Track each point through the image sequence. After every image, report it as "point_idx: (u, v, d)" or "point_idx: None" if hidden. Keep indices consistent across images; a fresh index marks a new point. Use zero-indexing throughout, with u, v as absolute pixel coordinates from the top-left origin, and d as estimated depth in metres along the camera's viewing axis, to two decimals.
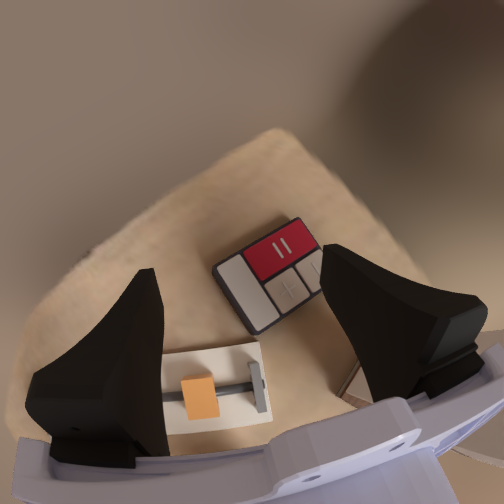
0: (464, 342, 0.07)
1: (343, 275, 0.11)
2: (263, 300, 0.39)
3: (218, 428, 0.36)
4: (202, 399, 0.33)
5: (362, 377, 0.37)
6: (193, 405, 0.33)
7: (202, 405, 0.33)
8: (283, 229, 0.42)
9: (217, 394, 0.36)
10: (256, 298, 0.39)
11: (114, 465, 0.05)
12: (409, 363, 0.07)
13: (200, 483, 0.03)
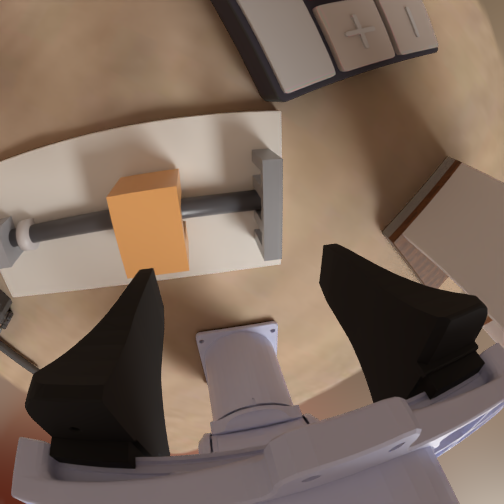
0: (464, 342, 0.07)
1: (343, 275, 0.11)
2: (307, 35, 0.14)
3: (185, 274, 0.23)
4: (153, 236, 0.16)
5: (437, 222, 0.21)
6: (135, 249, 0.17)
7: (153, 248, 0.17)
8: None
9: (185, 215, 0.19)
10: (294, 27, 0.13)
11: (114, 465, 0.05)
12: (409, 363, 0.07)
13: (200, 483, 0.03)
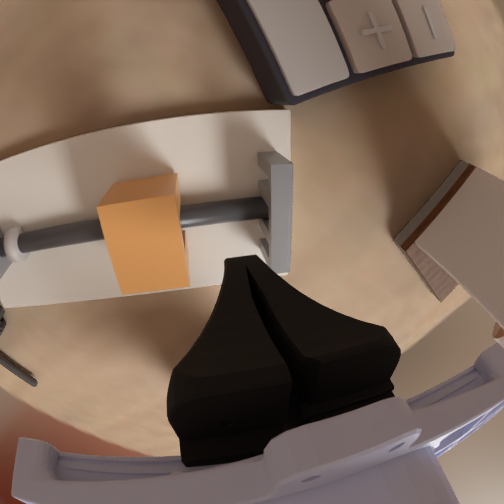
0: (369, 382, 0.06)
1: (252, 290, 0.10)
2: (319, 31, 0.12)
3: None
4: (149, 249, 0.15)
5: (452, 230, 0.20)
6: (130, 263, 0.15)
7: (150, 263, 0.15)
8: None
9: (185, 224, 0.18)
10: (305, 22, 0.12)
11: None
12: (294, 399, 0.07)
13: (200, 483, 0.03)
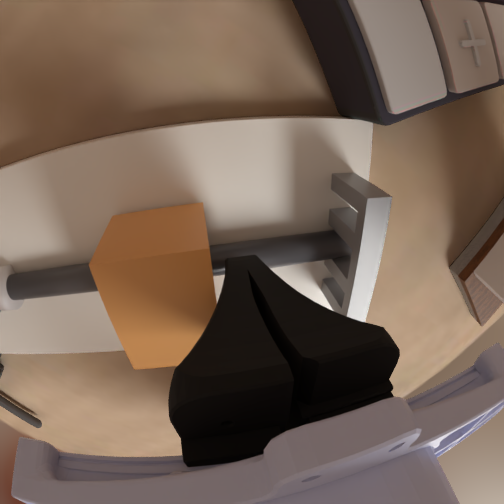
0: (368, 382, 0.06)
1: (252, 290, 0.10)
2: (419, 34, 0.08)
3: None
4: (171, 320, 0.10)
5: None
6: (143, 336, 0.10)
7: (172, 336, 0.11)
8: None
9: None
10: (406, 19, 0.08)
11: (264, 454, 0.06)
12: (293, 399, 0.07)
13: (200, 483, 0.03)
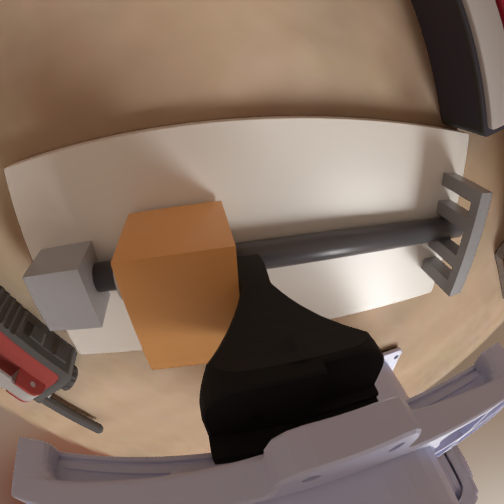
0: (351, 388, 0.06)
1: (239, 292, 0.10)
2: None
3: (346, 312, 0.18)
4: (193, 319, 0.10)
5: None
6: (163, 336, 0.11)
7: (193, 334, 0.11)
8: None
9: (386, 247, 0.14)
10: (502, 61, 0.09)
11: None
12: None
13: (200, 483, 0.03)
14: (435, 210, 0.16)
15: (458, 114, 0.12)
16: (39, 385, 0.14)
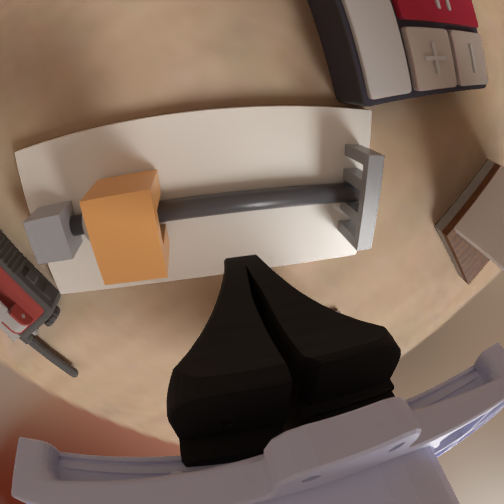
0: (369, 382, 0.06)
1: (252, 290, 0.10)
2: (395, 50, 0.14)
3: (268, 265, 0.23)
4: (129, 241, 0.15)
5: (485, 218, 0.22)
6: (111, 255, 0.15)
7: (129, 254, 0.16)
8: None
9: (285, 204, 0.19)
10: (386, 40, 0.13)
11: None
12: (294, 399, 0.07)
13: (200, 483, 0.03)
14: (341, 177, 0.20)
15: (345, 91, 0.17)
16: (28, 318, 0.19)
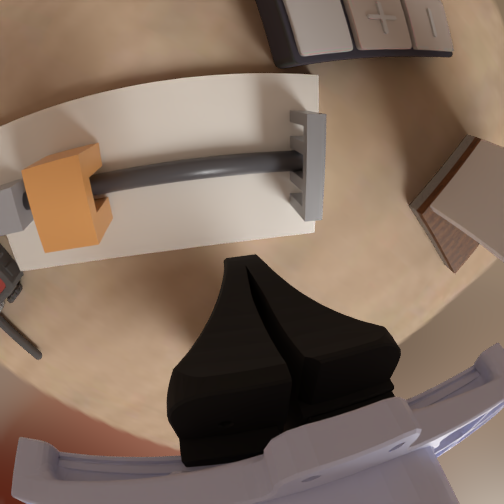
0: (369, 382, 0.06)
1: (252, 290, 0.10)
2: (331, 9, 0.13)
3: (215, 241, 0.22)
4: (62, 207, 0.14)
5: (464, 193, 0.20)
6: (48, 221, 0.14)
7: (63, 220, 0.15)
8: None
9: (223, 172, 0.18)
10: None
11: None
12: (294, 399, 0.07)
13: (200, 483, 0.03)
14: (288, 145, 0.19)
15: (279, 53, 0.16)
16: None
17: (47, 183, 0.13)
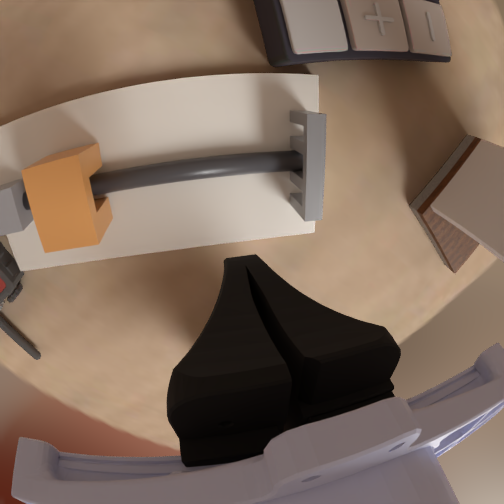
0: (369, 382, 0.06)
1: (252, 290, 0.10)
2: (327, 8, 0.13)
3: (215, 241, 0.22)
4: (62, 207, 0.14)
5: (464, 193, 0.20)
6: (48, 221, 0.14)
7: (63, 220, 0.15)
8: None
9: (223, 172, 0.18)
10: None
11: None
12: (294, 399, 0.07)
13: (200, 483, 0.03)
14: (288, 145, 0.19)
15: (273, 51, 0.15)
16: None
17: (47, 183, 0.13)
